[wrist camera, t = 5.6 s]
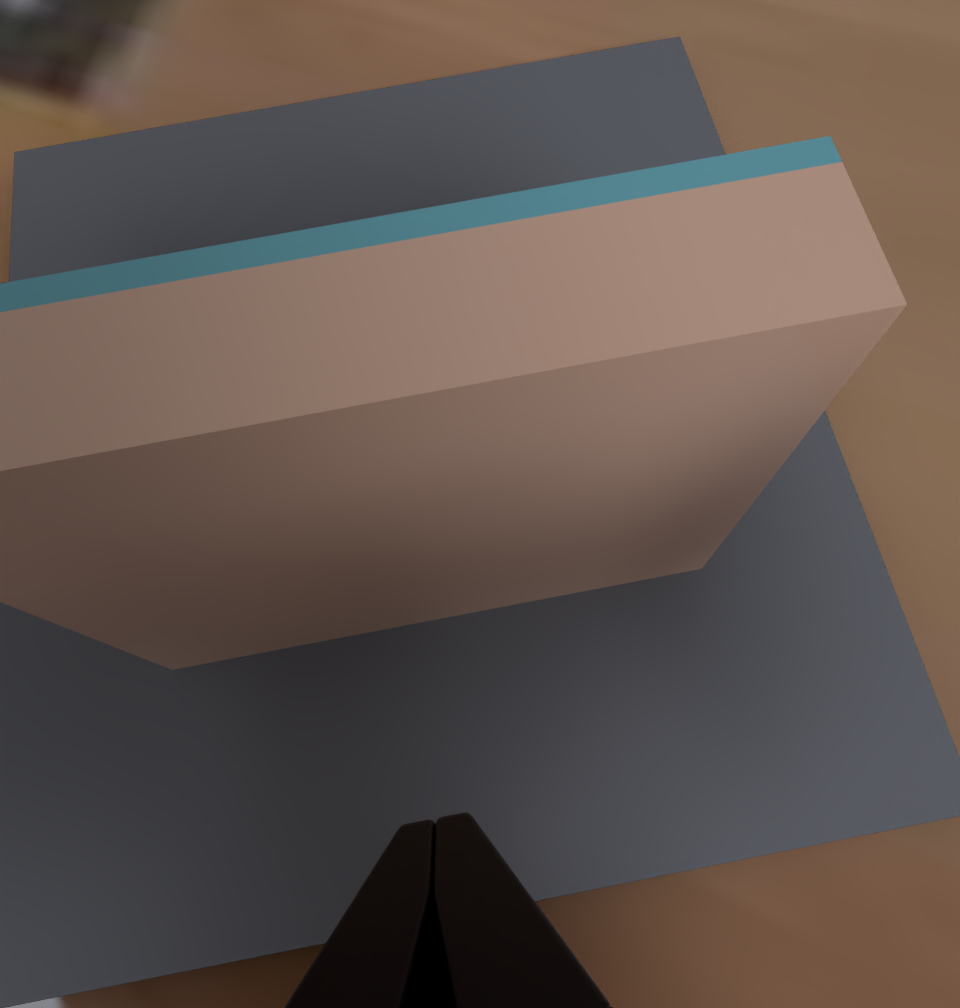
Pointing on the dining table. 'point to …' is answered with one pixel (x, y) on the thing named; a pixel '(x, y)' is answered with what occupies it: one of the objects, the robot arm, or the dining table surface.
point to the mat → (448, 641)
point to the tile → (425, 404)
